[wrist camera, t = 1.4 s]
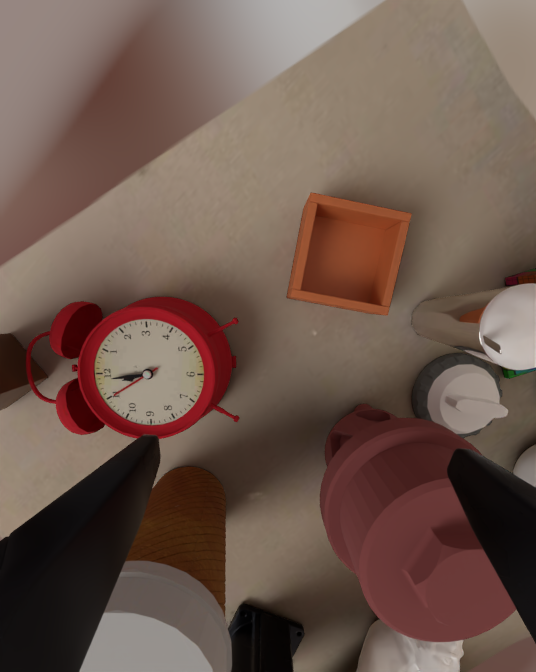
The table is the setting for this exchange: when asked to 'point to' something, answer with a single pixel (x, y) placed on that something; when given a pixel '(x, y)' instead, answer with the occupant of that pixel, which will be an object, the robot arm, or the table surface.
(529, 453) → the teacup
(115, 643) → the disposable coffee cup
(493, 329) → the milkshake
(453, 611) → the mechanical component
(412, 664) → the figurine
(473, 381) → the stove knob
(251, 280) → the table surface
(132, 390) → the alarm clock
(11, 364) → the brown rectangular block
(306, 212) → the socket pad
